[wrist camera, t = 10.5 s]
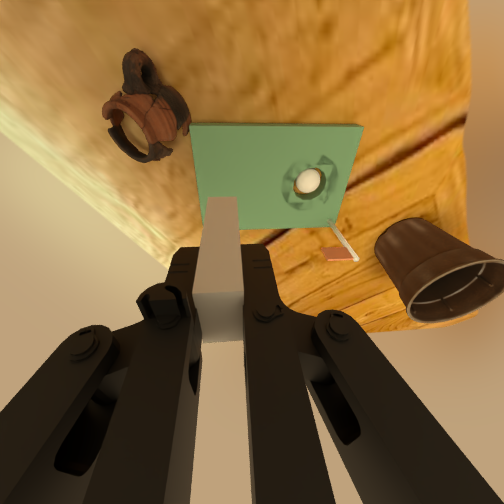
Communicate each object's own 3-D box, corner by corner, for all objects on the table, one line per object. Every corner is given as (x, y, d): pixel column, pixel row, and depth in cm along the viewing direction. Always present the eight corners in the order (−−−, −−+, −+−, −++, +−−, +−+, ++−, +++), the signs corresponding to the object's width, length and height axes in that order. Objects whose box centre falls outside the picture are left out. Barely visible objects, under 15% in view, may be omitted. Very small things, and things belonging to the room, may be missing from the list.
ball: (291, 176, 39) (298, 162, 35) (313, 175, 39) (322, 162, 35) (294, 197, 38) (300, 186, 34) (316, 196, 38) (325, 185, 34)
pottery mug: (200, 149, 35) (168, 177, 30) (150, 134, 36) (113, 158, 32) (186, 47, 25) (136, 64, 20) (119, 34, 27) (59, 46, 22)
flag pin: (302, 212, 43) (328, 258, 32) (326, 212, 43) (360, 257, 32) (302, 216, 43) (327, 263, 32) (325, 215, 44) (358, 261, 33)
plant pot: (368, 276, 56) (409, 333, 44) (358, 230, 47) (406, 286, 34) (436, 250, 52) (502, 305, 40) (440, 195, 43) (528, 243, 30)
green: (204, 223, 42) (203, 230, 40) (191, 122, 32) (188, 125, 30) (329, 220, 44) (334, 226, 42) (356, 124, 34) (364, 127, 32)
